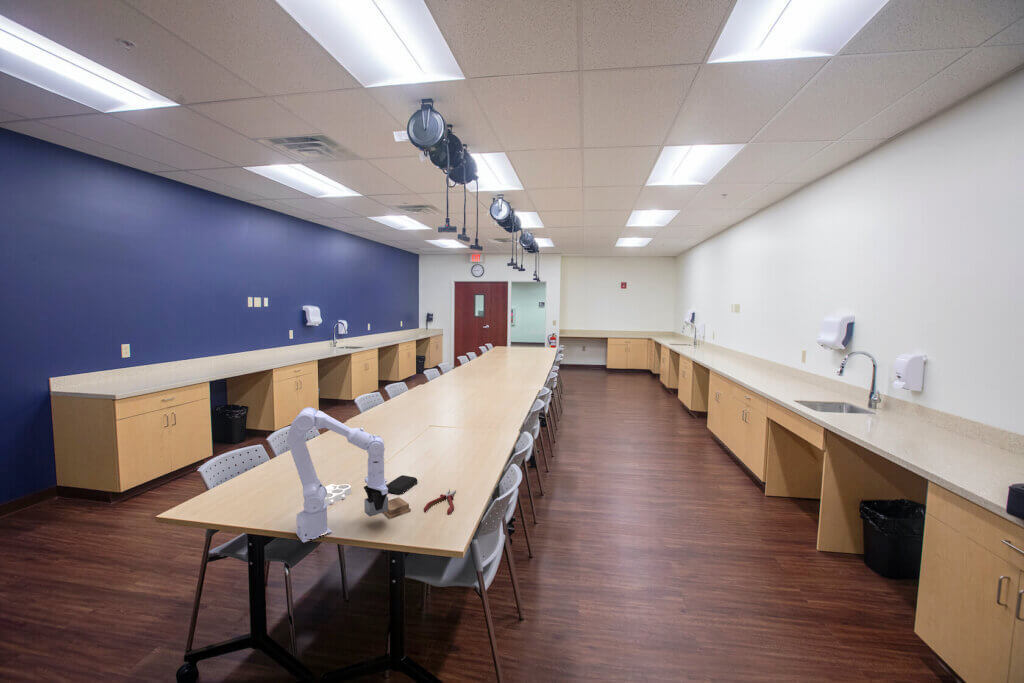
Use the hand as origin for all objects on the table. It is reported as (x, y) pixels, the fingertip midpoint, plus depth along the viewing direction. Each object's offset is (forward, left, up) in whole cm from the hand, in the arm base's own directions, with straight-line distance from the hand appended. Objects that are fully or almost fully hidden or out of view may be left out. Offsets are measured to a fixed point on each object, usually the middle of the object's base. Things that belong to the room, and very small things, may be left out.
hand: (376, 506), depth 150 cm
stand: (+10, +5, -7) cm, 13 cm away
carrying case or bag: (+22, +23, -7) cm, 33 cm away
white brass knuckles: (-5, +33, -7) cm, 34 cm away
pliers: (+29, -4, -8) cm, 30 cm away
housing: (0, 0, -2) cm, 2 cm away
